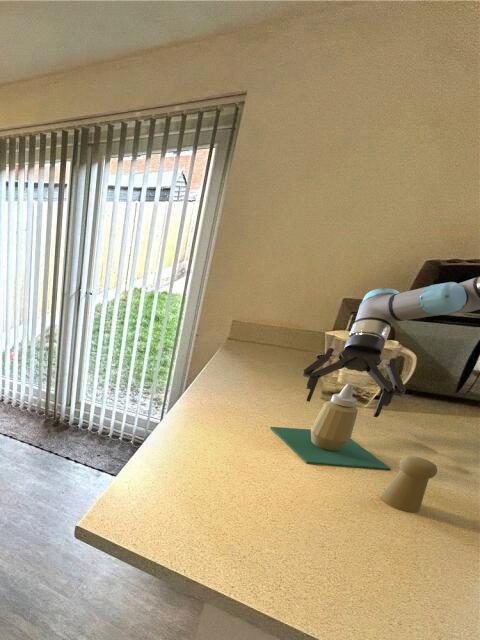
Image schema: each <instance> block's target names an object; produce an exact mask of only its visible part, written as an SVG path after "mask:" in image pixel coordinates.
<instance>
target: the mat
mask: <svg viewBox="0 0 480 640" xmlns="http://www.w3.org/2000/svg"><path fill="white" fill-rule="evenodd" d="M270 430H271V431H273V433H274V434H275V435H277V437H278V438H280V439H281V440H282V441H283V442H284V443H285V444H286V445H287V447H289V448H290V449H291V450H292V451H293V452H294V453H295V454H296V455H297V456H298V457H299V458H300V459H301V460H302V461H303V462H304V463H305V464H307V465H319V466H330V467H331V466H332V467H344V468H356V469H367V470H368V469H369V470H380V471H381V470H382V471H391V467H390V466H388V465H387V464H386V463H385V462H383V461H381V460H380V459H379V458H378V457H377V456H375V455H373V453H372V452H370V451H368V450H367V449H365V448H364V447H363V446H362V445H361V444H359V443H358V442H356V441H355V440H354V439H352V437H351V438H350V441H349V442H348V443H346V444H345V445H344V446H343V447H342V448H341V449H340V450H337V451H332V450H326V449H323V448H320V447H318V446H316V445H314V444H313V443H312V440H311V428H310V429H309V428H296V427H283V426H282V427H281V426H270Z"/></svg>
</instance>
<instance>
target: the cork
mask: <svg viewBox="0 0 480 640" xmlns="http://www.w3.org/2000/svg"><path fill="white" fill-rule="evenodd" d="M398 467H399V471H398V472H397V473H396V475H395V476H394V477H393V479H392V480H391V481H390V482H389V483H388V485H387V486H386V488H385V489H384V490H383V492H382V493H381V494H379V495H380V496H379V497H380V499H381V501H382V502H383V503H385V504H387V505H388V506H390V507H392V508H394V509H397V510H399V511H402V512H408V513H418V512H420V510H421V506H422V503H423V500H424V496H425V494H426V489H427V486H428V483H429V480H430V479H433V478H434V477H435V476H436V475H437V473H438V467H437V465H436V464H435V463H434V462H432V461H430V460H428V459H426V458H423V457H420V456H411V455H409V456H405V457H403V458H402V459H401V460H400V461H399V466H398Z"/></svg>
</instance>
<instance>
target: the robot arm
mask: <svg viewBox="0 0 480 640" xmlns="http://www.w3.org/2000/svg"><path fill="white" fill-rule="evenodd" d="M478 310H480V276H477V277H474V278H471V279H468V280H465V281H461V282H459V283H457V282H454V281H449V282H443V283H435V284H431V285H429V286H424V287H419V288H416V289H412V290H408V291H404V292H400V291H398V290H396V289H393V288H377V289H372V290H370V291H369V292H367V293H366V294H365V295H364V297H363V299H362V300H361V302H360V304H359V308H358V311H357V314H356V316H355V320H354V323H352V326H351V328H350V332H349V334H348V338H347V339H346V341H345V345H344V347H343V350H342V351H337V350H334V348H332V347H329V348H327V350H326V352H325V354H323V355H322V356H321V357H319V358H318V359H316V360H315V361H314V362H313V363H312V364H310V365H309V366H307V367H306V368H304V369H303V371H302V376H303V377H305V378H308V381H307V383H306V386H305V388H306V390H309V391H308V395H307V398H306V402H311V400H312V397H313V395H314V392H315V389H316V387H317V384H318V382H319V379H320V378H322V377H324V376H326V375H329V374H331V373H333V372H336V371H338V370H342V369H344V368H346V369H347V371H348V370H350V371H356V372H360V373H363V372H366V374H368V375H369V376H370V377H371V378H372V380H374V382H375V383H376V384H377V385H378V387H379V388H380V389H381V391H382V393H381V394H380V397H379V400H378V402H377V405H376V408H375V410H374V413H373V418H378V417H379V416H380V414H381V412H382V409H383V407H389V405H390V404H391V402H392V400H393V398H394V397H393V396H397V397H402V396H404V394H405V393H406V391H407V389H406V386H405V384H404V382H403V379H402V378H401V377H402V376H401V375H400V372H399V370H398V367H397V358H395V357H391V358H390V359H387V358H382V353H383V351H384V348H385V345H386V342H387V340H388V337H389V334H390V332H391V329H392V327H393V324H394V323H397V322H404V321H408V320H414V319H421V318H428V317H435V316H436V317H437V316H444V315H452V314H453V315H454V314H466V313H467V314H468V313H471V312H475V311H478ZM336 357H338V360H337V361H335V362H333V363H331V364H329V365H326V366H324V367H323V368H321V367H322V366H323V365H325V364H326V363H327V362H328V361H330V359H331V360H332V359H334V358H336ZM379 365H382V366H383V367H384V369H386V372H387V375H388V377H389V379H390V381H389V380H388V379H387V378H386V377H385V375H384V374H383V372H381V371H380V369H379V367H378V366H379ZM319 368H320V369H319ZM390 382H391V383H390Z"/></svg>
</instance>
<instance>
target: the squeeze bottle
mask: <svg viewBox="0 0 480 640" xmlns="http://www.w3.org/2000/svg"><path fill="white" fill-rule="evenodd" d="M353 391H354V384H353V383H350V382H349V383H348V382H347V383H346V384H345V385H344V387H343V388H342V390H341V391H340V392H339V393H334V394H332V396H331V399H330V400H328V401H325V402H324V404H323V405H322V407H321V409H320V411H319V413H318V414H317V416H316V418H315V420H314V422H313V424H312V425H311V428H310V429H311V440H312V443H313V444H314V445H316V446H318V447H320V448H323V449H326V450H332V451H337V450H340V449H341V448H342V447H343V446H344V445H345V444H346V443H348V442H349V441H350V438H351V439H352V434H353V431H354V428H355V427H354V426H355V424H356V419H357V415H358V411H359V409H358V408H357V406H356V404H357V401H358V399H357V398H356V397H354V396H353Z"/></svg>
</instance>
